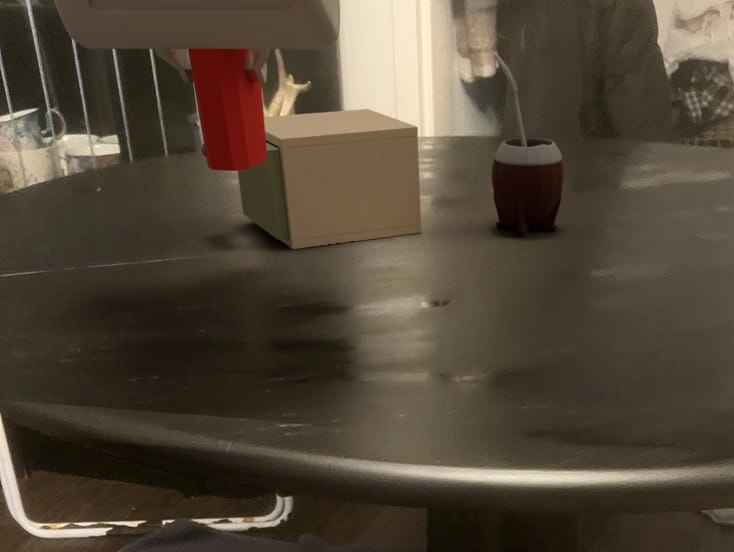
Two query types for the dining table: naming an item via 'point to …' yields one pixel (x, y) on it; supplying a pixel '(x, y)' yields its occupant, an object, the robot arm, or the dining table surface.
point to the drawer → (265, 194)
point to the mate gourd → (526, 177)
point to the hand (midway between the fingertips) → (226, 75)
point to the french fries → (228, 109)
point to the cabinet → (347, 176)
